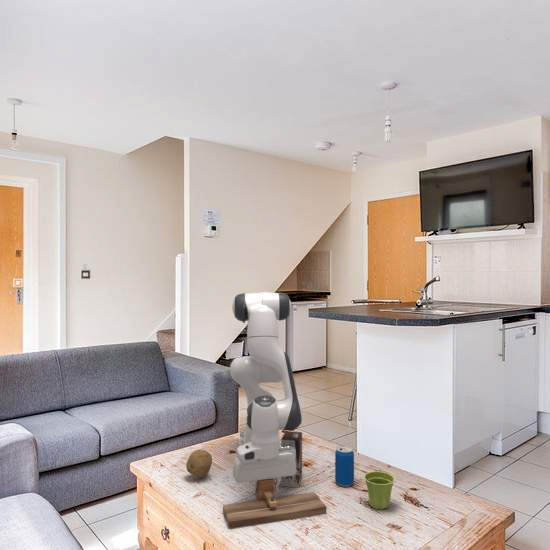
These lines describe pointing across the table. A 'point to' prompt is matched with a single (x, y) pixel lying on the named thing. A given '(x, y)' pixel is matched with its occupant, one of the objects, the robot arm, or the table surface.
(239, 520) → the plank
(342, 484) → the beverage can
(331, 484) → the table surface
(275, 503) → the wooden chest hasp
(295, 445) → the coffee box
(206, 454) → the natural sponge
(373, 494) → the plant pot
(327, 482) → the table surface
